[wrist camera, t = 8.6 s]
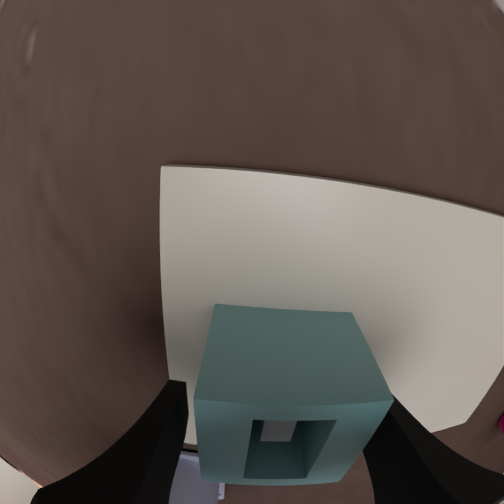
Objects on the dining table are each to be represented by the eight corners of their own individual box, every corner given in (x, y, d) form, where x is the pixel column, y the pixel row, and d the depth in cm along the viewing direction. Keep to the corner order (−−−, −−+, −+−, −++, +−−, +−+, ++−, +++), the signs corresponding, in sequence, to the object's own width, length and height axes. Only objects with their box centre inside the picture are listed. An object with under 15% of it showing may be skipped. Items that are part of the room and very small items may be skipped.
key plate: (459, 413, 17) (480, 450, 12) (182, 428, 16) (169, 484, 12) (543, 228, 11) (590, 253, 7) (170, 164, 11) (118, 177, 6)
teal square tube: (322, 401, 13) (339, 481, 9) (213, 396, 13) (201, 480, 9) (351, 312, 12) (394, 399, 7) (215, 303, 11) (193, 398, 7)
